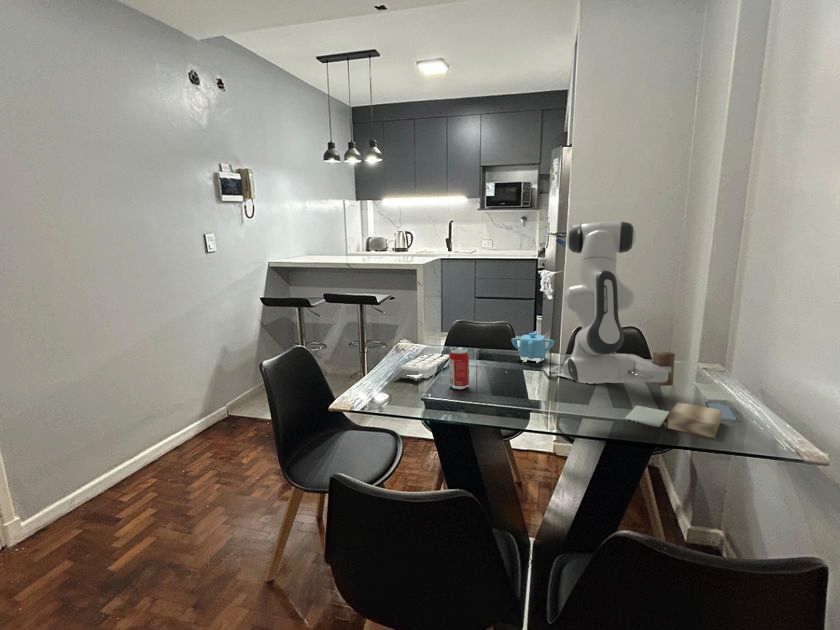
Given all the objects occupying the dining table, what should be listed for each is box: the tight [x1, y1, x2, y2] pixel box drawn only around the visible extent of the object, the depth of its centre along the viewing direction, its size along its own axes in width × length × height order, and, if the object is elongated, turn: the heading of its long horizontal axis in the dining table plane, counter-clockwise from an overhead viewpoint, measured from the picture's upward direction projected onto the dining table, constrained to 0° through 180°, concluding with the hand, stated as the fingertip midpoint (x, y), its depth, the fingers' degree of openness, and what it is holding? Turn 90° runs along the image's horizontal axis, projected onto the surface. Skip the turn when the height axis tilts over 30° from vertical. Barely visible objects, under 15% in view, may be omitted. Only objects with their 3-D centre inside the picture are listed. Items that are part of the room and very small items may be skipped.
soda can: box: [448, 348, 470, 386], centre depth 178 cm, size 8×8×15 cm
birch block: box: [666, 401, 722, 439], centre depth 137 cm, size 12×14×4 cm
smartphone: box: [703, 401, 740, 423], centre depth 147 cm, size 7×1×15 cm
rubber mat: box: [624, 405, 670, 428], centre depth 145 cm, size 10×14×1 cm
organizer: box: [400, 353, 449, 379], centre depth 203 cm, size 13×5×35 cm
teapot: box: [511, 330, 555, 359], centre depth 219 cm, size 18×16×14 cm
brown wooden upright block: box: [651, 351, 676, 387], centre depth 141 cm, size 5×3×10 cm, turn 91°
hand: (665, 366), depth 141 cm, fingers closed on brown wooden upright block, 3 cm apart
